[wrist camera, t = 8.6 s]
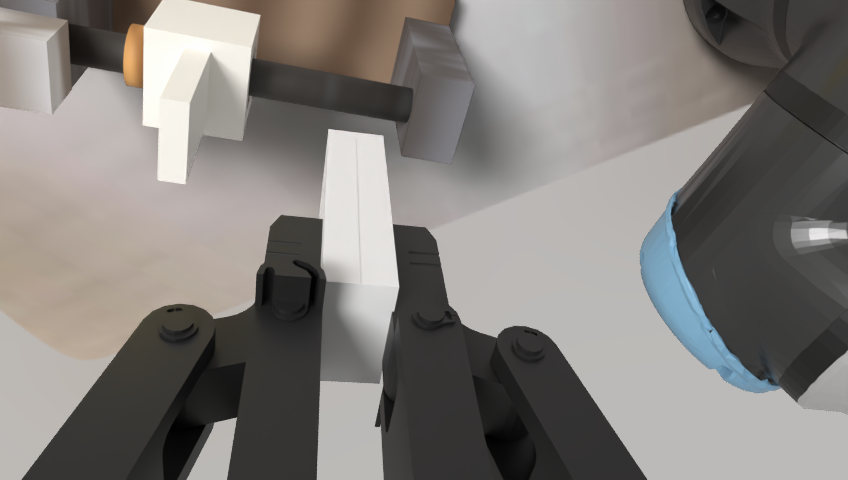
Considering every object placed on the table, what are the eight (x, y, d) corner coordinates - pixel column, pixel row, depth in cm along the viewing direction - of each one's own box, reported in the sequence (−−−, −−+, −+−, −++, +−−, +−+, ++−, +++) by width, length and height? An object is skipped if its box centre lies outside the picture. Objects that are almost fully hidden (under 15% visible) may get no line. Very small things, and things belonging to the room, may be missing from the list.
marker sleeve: (260, 14, 37) (238, 97, 28) (251, 100, 40) (228, 201, 31) (165, -5, 36) (109, 75, 27) (163, 85, 38) (112, 185, 29)
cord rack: (453, -11, 44) (497, 71, 33) (421, 111, 49) (449, 220, 38) (53, -102, 39) (-66, -42, 27) (62, 46, 44) (-35, 151, 32)
